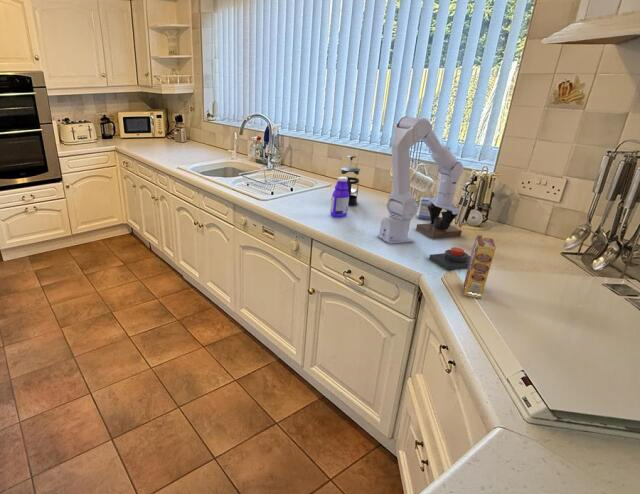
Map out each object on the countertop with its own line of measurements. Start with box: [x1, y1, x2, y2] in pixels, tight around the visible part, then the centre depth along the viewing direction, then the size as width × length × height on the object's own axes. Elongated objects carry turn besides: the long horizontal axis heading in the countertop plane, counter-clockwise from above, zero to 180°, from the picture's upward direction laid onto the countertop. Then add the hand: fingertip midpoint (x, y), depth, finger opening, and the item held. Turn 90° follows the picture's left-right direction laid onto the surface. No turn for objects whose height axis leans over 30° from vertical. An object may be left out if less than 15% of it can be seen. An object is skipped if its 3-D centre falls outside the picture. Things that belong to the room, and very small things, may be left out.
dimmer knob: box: [433, 216, 442, 229], centre depth 152 cm, size 4×4×4 cm
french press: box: [340, 155, 361, 207], centre depth 188 cm, size 12×9×23 cm
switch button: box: [450, 246, 465, 256], centre depth 127 cm, size 4×4×2 cm
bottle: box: [329, 176, 349, 219], centre depth 171 cm, size 7×6×17 cm
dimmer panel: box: [415, 222, 463, 240], centre depth 153 cm, size 12×10×3 cm
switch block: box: [428, 249, 471, 272], centre depth 128 cm, size 12×9×4 cm
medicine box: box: [416, 196, 436, 221], centre depth 169 cm, size 8×4×9 cm, turn 68°
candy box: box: [463, 235, 496, 300], centre depth 109 cm, size 9×4×15 cm, turn 151°
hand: (439, 226), depth 152 cm, fingers open, 6 cm apart
